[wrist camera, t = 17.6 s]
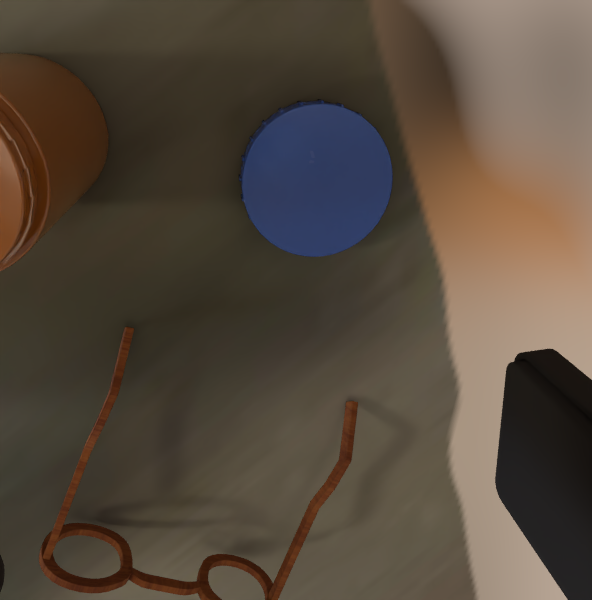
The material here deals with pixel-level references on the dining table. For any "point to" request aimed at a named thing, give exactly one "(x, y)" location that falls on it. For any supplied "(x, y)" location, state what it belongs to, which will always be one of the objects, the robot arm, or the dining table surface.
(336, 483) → the glasses
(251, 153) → the lid
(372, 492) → the dining table surface
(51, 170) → the jar
